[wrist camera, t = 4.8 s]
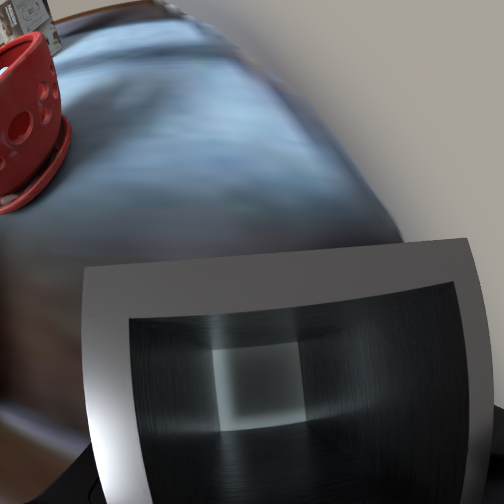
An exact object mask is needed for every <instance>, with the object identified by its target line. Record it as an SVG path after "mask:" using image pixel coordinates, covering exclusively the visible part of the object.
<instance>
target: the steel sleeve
mask: <svg viewBox="0 0 504 504" xmlns="http://www.w3.org/2000/svg"><path fill="white" fill-rule="evenodd" d="M292 342H297V343H298V351H299V360H300V368H301V377H302V386H303V395H304V405H305V415H306V421H303V422H297V423H291V424H285V425H278V426H271V427H262V428H253V429H243V430H230V431H221V427H220V419H219V411H218V402H217V393H216V384H215V374H214V364H213V353H212V350H223V349H236V348H247V347H258V346H267V345H276V344H284V343H292ZM82 364H83V379H84V391H85V400H86V409H87V416H88V423H89V429H90V435H91V441H92V446H93V451H94V456H95V460H96V465H97V469H98V473H99V477H100V481H101V484H102V488H103V491H104V495H105V498H106V501H107V504H481V501H482V497H483V492H484V488H485V483H486V478H487V472H488V466H489V460H490V452H491V443H492V432H493V412H494V386H493V367H492V354H491V344H490V336H489V329H488V322H487V316H486V310H485V306H484V301H483V295H482V291H481V286H480V282H479V278H478V275H477V270H476V267H475V263H474V259H473V256H472V253H471V249H470V246H469V243H468V240H467V238H458V239H445V240H433V241H421V242H409V243H396V244H384V245H371V246H359V247H346V248H333V249H320V250H308V251H295V252H282V253H269V254H256V255H243V256H230V257H216V258H203V259H190V260H176V261H163V262H149V263H136V264H122V265H108V266H94V267H85V268H84V279H83V295H82Z"/></svg>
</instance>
